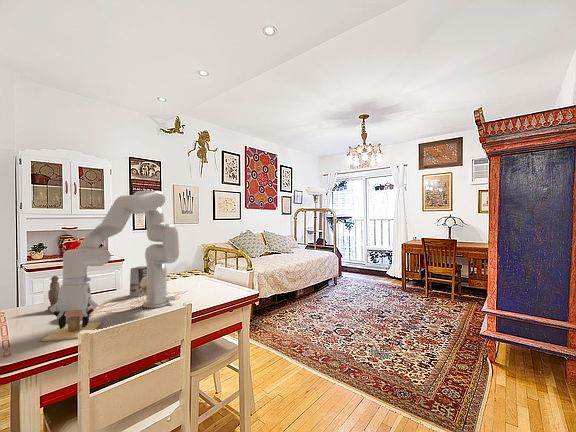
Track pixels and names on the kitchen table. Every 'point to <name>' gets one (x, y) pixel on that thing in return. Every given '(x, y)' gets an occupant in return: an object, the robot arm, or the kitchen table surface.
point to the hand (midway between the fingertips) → (73, 326)
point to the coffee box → (138, 281)
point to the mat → (66, 339)
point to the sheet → (69, 334)
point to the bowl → (76, 314)
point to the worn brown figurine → (53, 291)
